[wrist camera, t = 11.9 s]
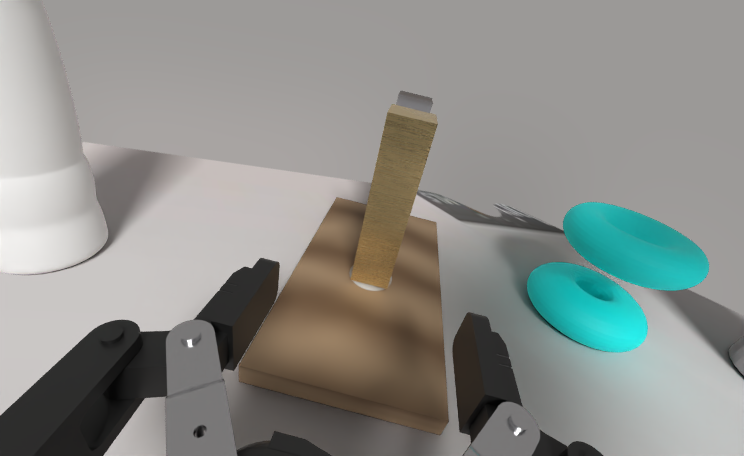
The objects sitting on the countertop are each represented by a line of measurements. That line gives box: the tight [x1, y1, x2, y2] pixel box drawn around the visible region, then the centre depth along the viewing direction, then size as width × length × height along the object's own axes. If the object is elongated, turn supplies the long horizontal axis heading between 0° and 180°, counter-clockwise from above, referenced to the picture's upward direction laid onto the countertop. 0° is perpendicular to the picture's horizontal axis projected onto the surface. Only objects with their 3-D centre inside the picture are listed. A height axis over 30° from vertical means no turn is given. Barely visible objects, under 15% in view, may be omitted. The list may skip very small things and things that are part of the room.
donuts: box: [527, 202, 709, 352], centre depth 28 cm, size 10×10×10 cm
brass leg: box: [350, 104, 438, 289], centre depth 23 cm, size 3×3×13 cm
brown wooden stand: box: [239, 91, 449, 435], centre depth 25 cm, size 23×12×14 cm, turn 172°
